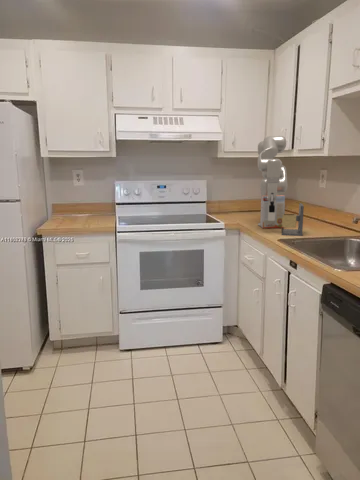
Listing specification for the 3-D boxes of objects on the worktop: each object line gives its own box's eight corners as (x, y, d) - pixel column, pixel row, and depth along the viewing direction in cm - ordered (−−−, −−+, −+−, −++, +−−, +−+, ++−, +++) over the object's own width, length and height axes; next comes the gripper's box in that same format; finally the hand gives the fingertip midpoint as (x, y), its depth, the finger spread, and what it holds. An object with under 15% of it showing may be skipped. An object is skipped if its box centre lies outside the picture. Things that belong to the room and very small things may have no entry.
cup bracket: (281, 230, 227) (282, 203, 224) (300, 231, 224) (302, 203, 221) (281, 235, 212) (282, 205, 209) (302, 235, 209) (304, 206, 206)
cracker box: (281, 226, 242) (282, 194, 238) (284, 228, 236) (285, 195, 232) (260, 227, 241) (261, 195, 237) (262, 228, 236) (263, 195, 232)
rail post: (268, 219, 224) (269, 196, 221) (274, 219, 223) (275, 196, 220) (268, 220, 220) (268, 197, 217) (274, 220, 219) (275, 197, 216)
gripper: (266, 179, 225) (265, 209, 229) (266, 181, 210) (264, 213, 214) (279, 179, 223) (278, 209, 228) (279, 181, 208) (278, 213, 212)
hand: (271, 211), depth 221 cm, fingers closed on rail post, 4 cm apart
